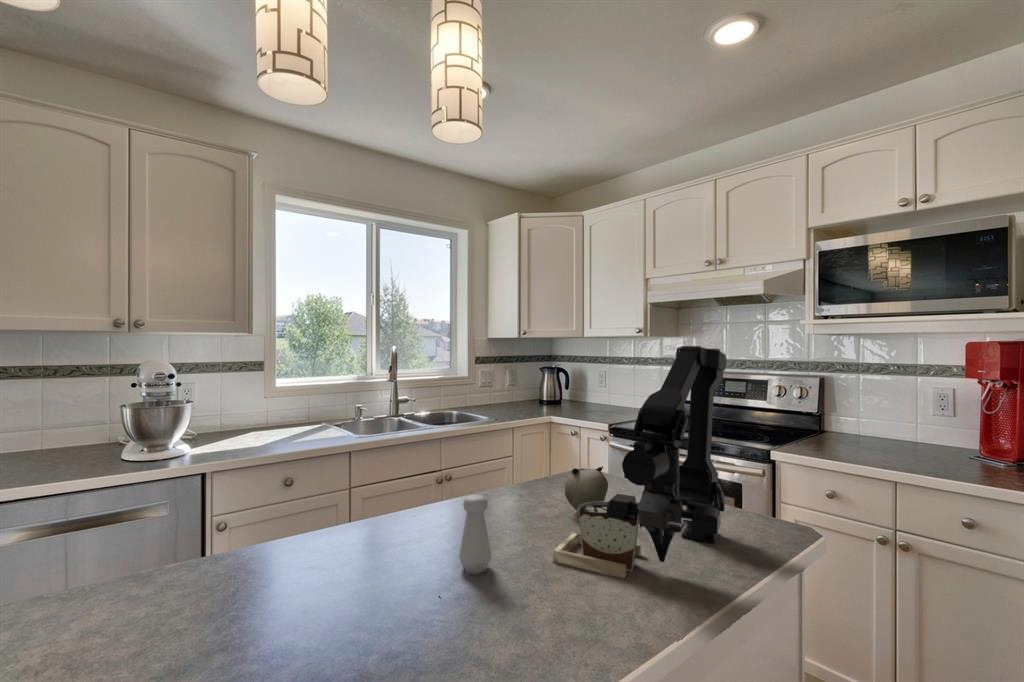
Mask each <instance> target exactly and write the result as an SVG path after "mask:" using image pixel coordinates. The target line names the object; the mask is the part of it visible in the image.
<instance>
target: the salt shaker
mask: <svg viewBox="0 0 1024 682" xmlns="http://www.w3.org/2000/svg"><path fill="white" fill-rule="evenodd" d="M462 506H463V509H464V511H466V512H465V513H466V514H465V518H464V525H463V530H462V535H461V541H460V548H459V553H458V554H459V555H458V558H459V561H460V564H461V565H462V568H463V570H464V571H465V572H466V573H467V574H473V575H478V574H482V573H485V572H486V571H487V569H488V566H489V563H490V561H491V559H492V549H491V545H490V540H489V535H488V534H489V533H488V529H487V523H486V518H485V511H487V509H488V498H487V497H486V496H485V495H481V494H470V495H468V496H466V497H465V498H464V499H463V505H462Z"/></svg>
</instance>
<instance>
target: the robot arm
mask: <svg viewBox="0 0 1024 682" xmlns="http://www.w3.org/2000/svg"><path fill="white" fill-rule="evenodd" d="M726 369H727V356H726V354H725V353H724V352H722V351H721V349H719V348H706V347H702V346H700V345H682V346H678V347H677V348H676V352H675V358H674V361H673V363H672V365H671V367H670V369H669V371H668V372H667V375H666V377H665V379H664V380H663V384H662V385H661V387H660V389H659V390H657V391H655V392H653V393H652V394H649V396H648V397H647V398H646V400H645V401H644V403H643V404H642V405H641V407H640V408H639V410H638V414H637V417H636V421H635V424H634V426H633V427H634V428H633V431H632V434H631V438H630V440H631V441H633V449H632V450H630V451H628V452H627V453H626V454H625V456H624V457H623V460H622V462H621V467H622V468H621V469H622V472H623V474H624V476H625V478H626V479H627V480H628V482H630V483H632V484H634V485H636V486H641V487H642V486H644V487H643V491H642V494H641V497H640V500H639V502H637V499H636V496H635V495H630V494H623V493H616V494H614V496H613V497H611V499H609V500H608V503H607V516H609V517H614V518H620V519H623V518H624V517H626V516H627V515H628V512H630V513H636V514H639V524H638V526H639V527H640V526H642V528H644V529H645V530H646V531H647V532H648V534H649V536H650V538H651V540H652V543H653V545H654V548H655V550H656V551H655V552H656V554H657V557H658V560H659V562H661V563H664V562H665V561H666V557H667V555H668V552H669V550H670V547H671V543H672V541H673V538H674V536H675V534H676V533H677V534H678V533H681V537H682V538H685V539H690V540H697V541H700V542H701V541H702V542H706V543H713V544H715V543H716V540H717V538H718V535H719V530H720V528H721V521H722V520H721V517H722V516H721V512H725V510H726V509H725V508H726V507H725V505H726V500H725V498H726V497H725V495H724V492H723V488H722V486H721V484H720V482H719V473H718V471H717V469H716V467H715V465H714V463H713V462H712V460H711V458H712V437H713V435H712V434H713V416H714V415H713V414H714V396H715V394H714V393H715V390H716V389H717V387H718V386H719V385H720V384H721V382H722V380H723V378H724V372H725V371H726ZM689 395H690V396H689ZM688 397H689V399H690V400H689V415H687V411H686V410H687V409H686V406H685V404H686V401H687V400H688ZM687 428H688V435H687V451H686V452H687V453H686V458H685V460H684V461H683V462H682V464H680V445H681V444H682V443H681V442H683V439H684V436H685V433H686V430H687ZM684 507H685V509H684Z"/></svg>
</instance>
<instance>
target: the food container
mask: <svg viewBox="0 0 1024 682" xmlns="http://www.w3.org/2000/svg"><path fill="white" fill-rule="evenodd" d="M608 502H609V500H608V501H605V500H604V501H595V502H588V503H584V504H581V505H579V506H578V509H577V511H576V512H575V513H576V517H577V516H578V515H579V521H578V522H579V532H580V533H581V544H580V545H581V552H582V554H581V555H585V556H589V557H594V558H598V559H603V560H607V561H611V562H616V563H620V564H625V565H626V572H627V571H628V572H631V573H632V572H634V569H635V562H636V556H635V552H636V543H637V542H638V541H637V540H638V534H639V533H638V532H639V529H642V528H643V527H642V526H640V525H639V514H636V513H630V512H628V515H627V516H626V517H624V518H623V519H620V518H614V517H609V516H607V503H608ZM637 544H638V543H637Z"/></svg>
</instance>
